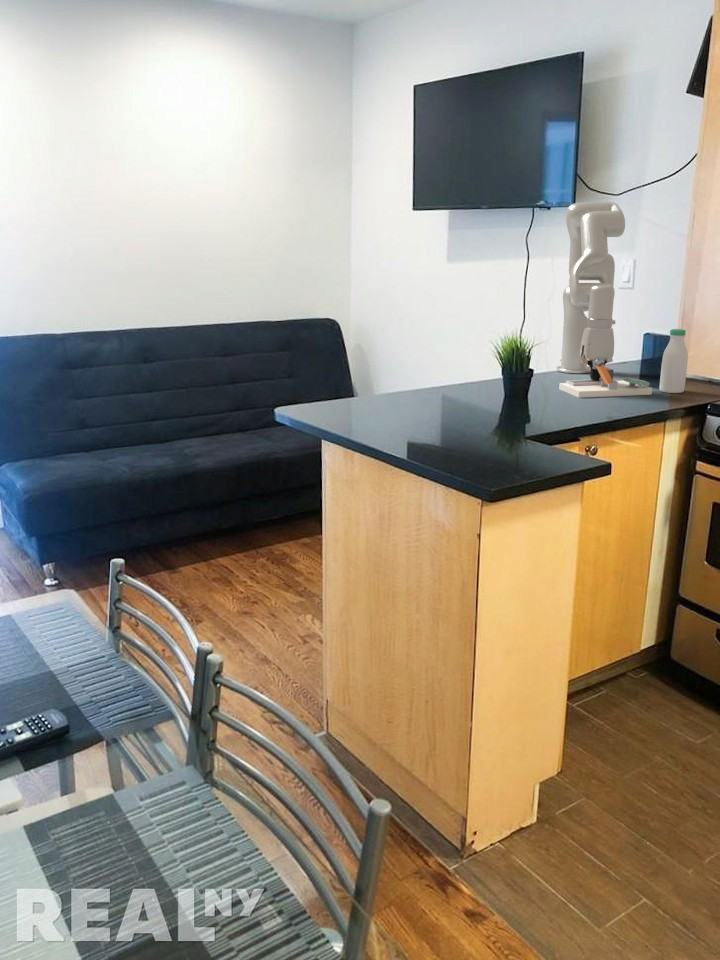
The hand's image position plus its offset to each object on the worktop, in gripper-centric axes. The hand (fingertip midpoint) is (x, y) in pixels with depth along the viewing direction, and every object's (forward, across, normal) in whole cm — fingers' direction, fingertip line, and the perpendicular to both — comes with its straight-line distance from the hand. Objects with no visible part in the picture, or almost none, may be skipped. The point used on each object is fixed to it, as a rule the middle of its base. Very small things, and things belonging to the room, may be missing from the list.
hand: (595, 380), depth 269 cm
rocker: (0, -10, +9) cm, 13 cm away
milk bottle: (+3, -23, +8) cm, 25 cm away
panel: (+3, -1, +4) cm, 6 cm away
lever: (0, -1, +8) cm, 8 cm away
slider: (+1, -4, 0) cm, 4 cm away
